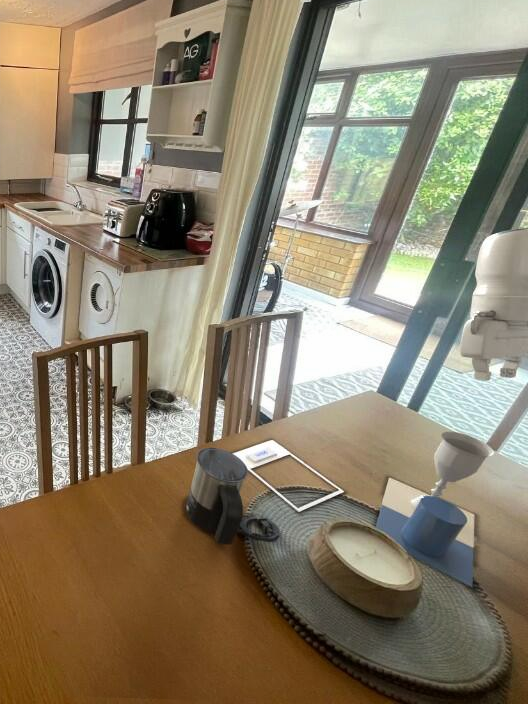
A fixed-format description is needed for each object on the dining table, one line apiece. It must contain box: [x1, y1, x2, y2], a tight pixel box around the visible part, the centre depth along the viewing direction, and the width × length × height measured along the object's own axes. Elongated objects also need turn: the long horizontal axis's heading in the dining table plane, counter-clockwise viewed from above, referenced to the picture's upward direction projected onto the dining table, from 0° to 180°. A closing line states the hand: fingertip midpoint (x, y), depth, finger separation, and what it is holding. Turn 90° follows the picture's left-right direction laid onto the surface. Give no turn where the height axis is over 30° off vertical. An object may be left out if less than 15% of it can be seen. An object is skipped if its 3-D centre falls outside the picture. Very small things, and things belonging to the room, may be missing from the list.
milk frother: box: [185, 447, 281, 546], centre depth 82 cm, size 14×16×15 cm
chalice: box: [411, 431, 495, 508], centre depth 83 cm, size 7×7×18 cm
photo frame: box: [232, 439, 345, 513], centre depth 96 cm, size 15×1×18 cm
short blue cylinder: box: [402, 496, 467, 557], centre depth 78 cm, size 6×6×9 cm
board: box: [375, 477, 476, 588], centre depth 84 cm, size 22×14×1 cm, turn 134°
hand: (494, 378), depth 83 cm, fingers open, 8 cm apart
